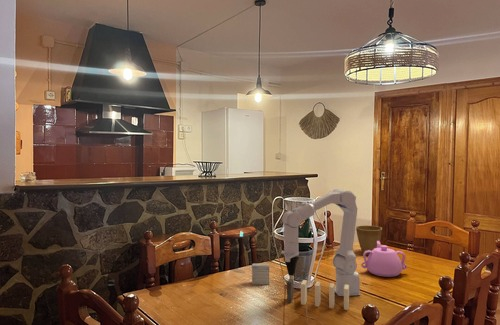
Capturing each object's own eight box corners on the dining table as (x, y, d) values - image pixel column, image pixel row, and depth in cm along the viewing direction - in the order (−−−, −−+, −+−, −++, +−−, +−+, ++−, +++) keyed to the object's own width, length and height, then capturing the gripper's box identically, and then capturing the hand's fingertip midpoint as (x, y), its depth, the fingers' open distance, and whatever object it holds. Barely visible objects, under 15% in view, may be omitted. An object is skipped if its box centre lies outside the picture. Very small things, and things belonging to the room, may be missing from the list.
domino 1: (293, 298, 148) (293, 279, 148) (290, 303, 143) (290, 283, 143) (289, 297, 149) (289, 278, 148) (287, 302, 144) (286, 282, 144)
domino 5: (348, 305, 141) (348, 284, 141) (348, 310, 136) (348, 289, 136) (344, 304, 142) (344, 284, 142) (343, 309, 137) (343, 288, 137)
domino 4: (334, 303, 143) (334, 283, 143) (333, 308, 138) (333, 287, 138) (330, 302, 143) (330, 282, 143) (329, 307, 139) (329, 287, 139)
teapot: (398, 266, 192) (398, 240, 192) (412, 279, 171) (412, 250, 170) (356, 265, 194) (356, 239, 194) (365, 278, 173) (365, 249, 173)
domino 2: (306, 300, 146) (306, 280, 146) (304, 304, 142) (304, 284, 141) (303, 299, 147) (303, 280, 147) (300, 304, 142) (300, 284, 142)
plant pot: (364, 249, 227) (364, 224, 227) (386, 254, 215) (386, 227, 215) (350, 253, 217) (350, 227, 217) (373, 259, 206) (373, 231, 206)
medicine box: (268, 281, 168) (268, 263, 168) (269, 284, 164) (269, 266, 164) (251, 281, 168) (251, 263, 168) (252, 285, 164) (252, 266, 164)
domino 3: (320, 301, 145) (320, 281, 144) (318, 306, 140) (318, 286, 140) (316, 301, 145) (316, 281, 145) (314, 306, 140) (314, 285, 140)
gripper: (285, 237, 154) (285, 268, 154) (277, 244, 140) (277, 279, 140) (302, 238, 151) (302, 270, 152) (294, 246, 138) (295, 281, 138)
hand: (291, 275), depth 146 cm, fingers closed
